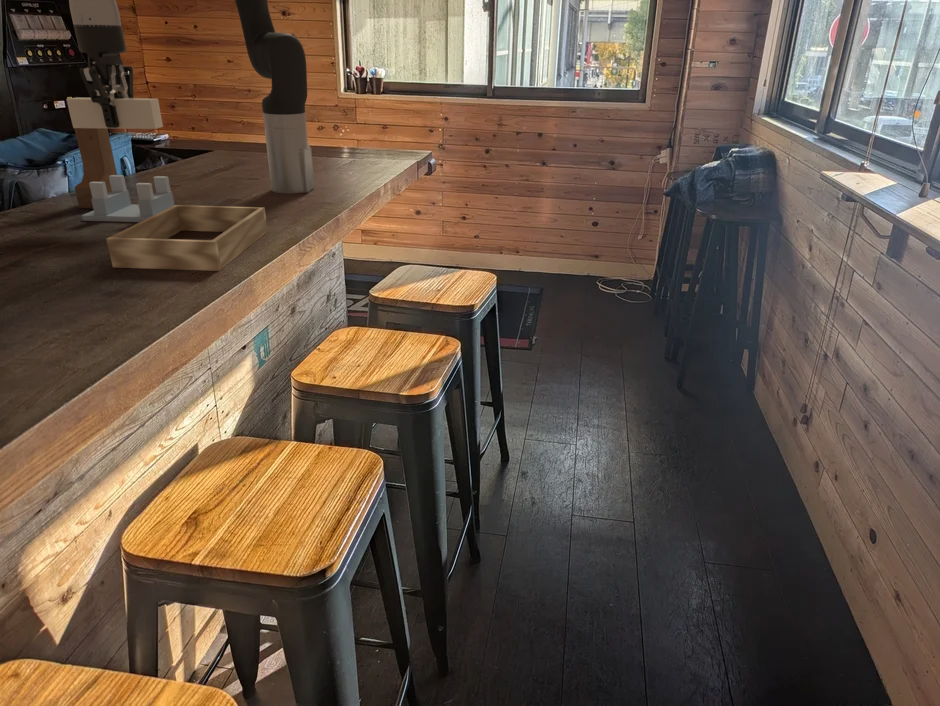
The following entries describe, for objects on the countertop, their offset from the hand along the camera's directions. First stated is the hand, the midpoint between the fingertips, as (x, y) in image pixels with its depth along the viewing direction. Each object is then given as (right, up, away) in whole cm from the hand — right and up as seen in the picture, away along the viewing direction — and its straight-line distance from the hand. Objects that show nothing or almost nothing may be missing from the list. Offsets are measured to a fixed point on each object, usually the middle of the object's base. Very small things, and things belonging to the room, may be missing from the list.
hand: (119, 125), depth 121 cm
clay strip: (0, 0, 0) cm, 0 cm away
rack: (0, -15, +7) cm, 17 cm away
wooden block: (-12, -11, +15) cm, 23 cm away
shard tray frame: (+20, -25, -12) cm, 34 cm away
